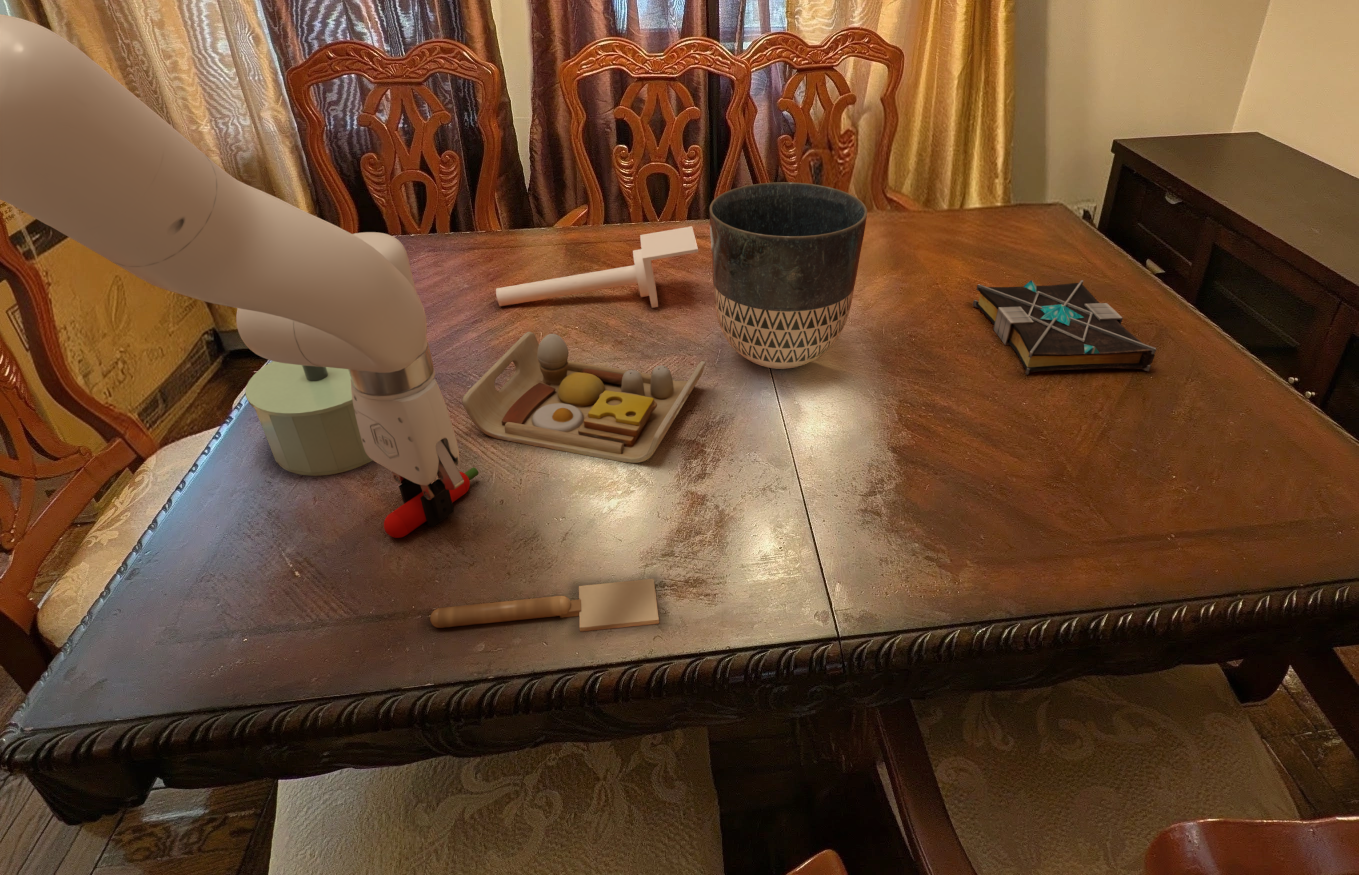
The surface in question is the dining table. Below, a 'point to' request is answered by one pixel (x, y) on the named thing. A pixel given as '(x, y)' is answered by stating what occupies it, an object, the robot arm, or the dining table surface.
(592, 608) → the spatula
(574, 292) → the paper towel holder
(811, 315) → the planter
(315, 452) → the pot
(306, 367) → the pot lid
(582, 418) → the toy food set
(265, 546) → the dining table surface
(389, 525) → the chili pepper
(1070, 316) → the book
